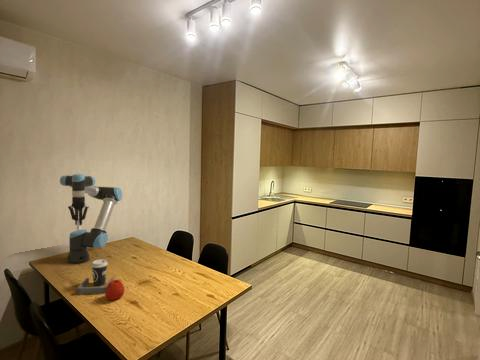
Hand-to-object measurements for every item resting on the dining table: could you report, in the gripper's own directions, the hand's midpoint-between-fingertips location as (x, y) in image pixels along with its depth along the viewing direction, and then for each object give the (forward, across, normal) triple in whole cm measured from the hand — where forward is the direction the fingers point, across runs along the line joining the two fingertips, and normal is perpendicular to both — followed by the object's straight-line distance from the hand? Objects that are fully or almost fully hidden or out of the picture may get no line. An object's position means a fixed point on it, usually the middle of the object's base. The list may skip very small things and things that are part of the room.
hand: (78, 229), depth 184 cm
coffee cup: (+31, +21, -20) cm, 43 cm away
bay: (+30, +21, -25) cm, 45 cm away
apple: (+31, +36, -38) cm, 61 cm away
